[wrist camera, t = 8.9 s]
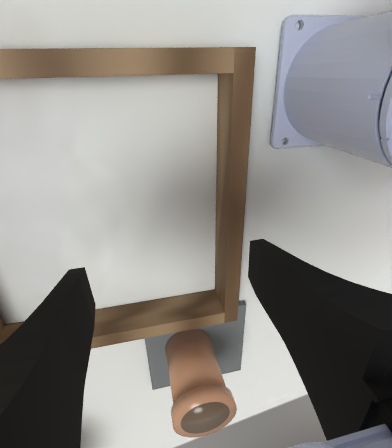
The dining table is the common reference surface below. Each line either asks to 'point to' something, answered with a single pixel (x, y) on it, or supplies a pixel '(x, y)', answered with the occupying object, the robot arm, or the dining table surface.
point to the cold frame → (225, 185)
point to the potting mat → (221, 342)
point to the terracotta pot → (197, 385)
